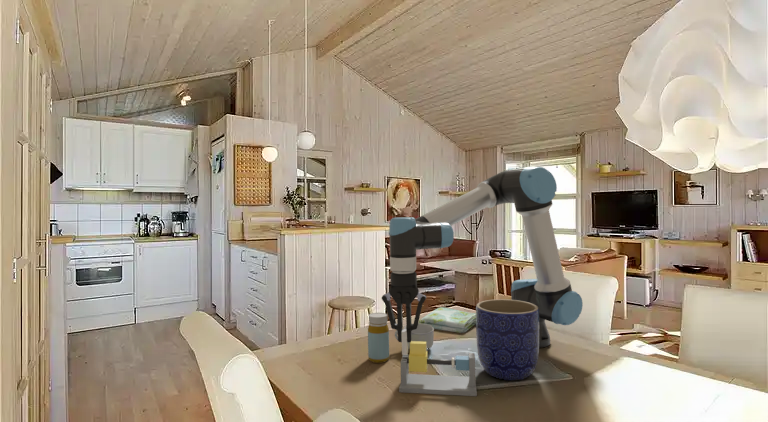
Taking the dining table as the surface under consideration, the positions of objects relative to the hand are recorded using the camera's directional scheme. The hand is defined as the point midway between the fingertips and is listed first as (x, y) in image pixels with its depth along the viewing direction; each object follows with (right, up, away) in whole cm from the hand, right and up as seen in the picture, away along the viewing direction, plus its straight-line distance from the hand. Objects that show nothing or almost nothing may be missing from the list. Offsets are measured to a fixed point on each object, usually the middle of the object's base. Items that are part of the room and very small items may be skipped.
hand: (405, 352), depth 125 cm
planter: (+32, -9, +7) cm, 33 cm away
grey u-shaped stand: (+9, -9, -1) cm, 13 cm away
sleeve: (+4, -4, -1) cm, 6 cm away
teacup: (+5, -9, +30) cm, 31 cm away
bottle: (-8, -9, +21) cm, 24 cm away
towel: (+22, -8, +60) cm, 65 cm away
